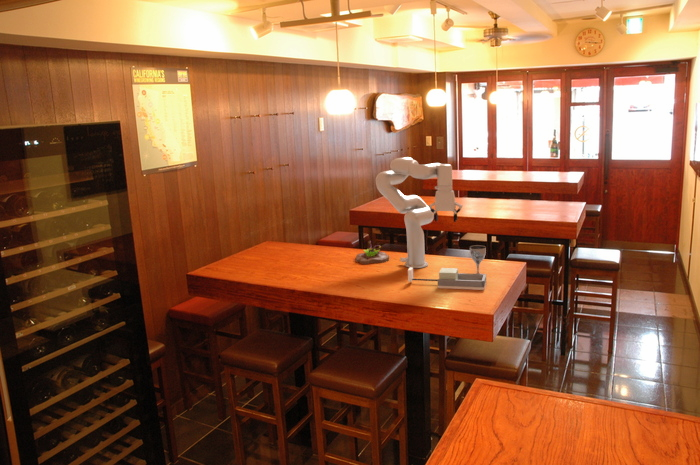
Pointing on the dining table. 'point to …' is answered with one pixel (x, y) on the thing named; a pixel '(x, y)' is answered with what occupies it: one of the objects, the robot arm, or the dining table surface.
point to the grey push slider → (443, 274)
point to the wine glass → (477, 254)
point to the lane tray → (464, 282)
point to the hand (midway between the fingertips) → (445, 221)
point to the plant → (372, 256)
